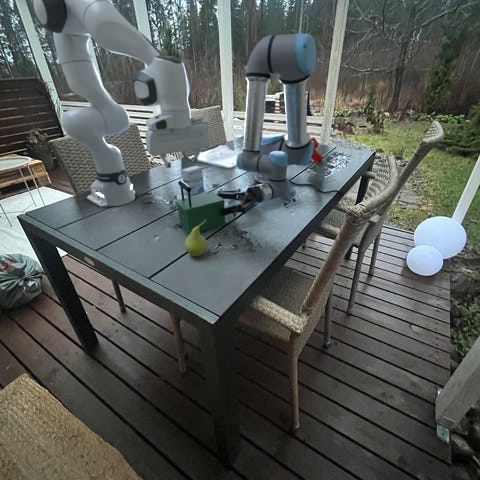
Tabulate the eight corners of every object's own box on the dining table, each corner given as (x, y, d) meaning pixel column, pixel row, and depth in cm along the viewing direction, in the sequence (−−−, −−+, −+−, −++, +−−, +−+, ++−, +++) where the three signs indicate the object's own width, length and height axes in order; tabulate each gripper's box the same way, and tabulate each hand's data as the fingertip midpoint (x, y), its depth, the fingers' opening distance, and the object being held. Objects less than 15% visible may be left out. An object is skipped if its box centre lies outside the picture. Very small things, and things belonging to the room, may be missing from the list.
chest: (189, 235, 98) (187, 212, 94) (180, 224, 105) (177, 203, 100) (225, 224, 105) (224, 202, 100) (214, 214, 112) (212, 194, 107)
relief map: (229, 168, 161) (229, 160, 158) (188, 158, 179) (187, 150, 176) (255, 158, 179) (255, 150, 177) (215, 150, 197) (215, 142, 194)
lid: (185, 213, 93) (182, 189, 89) (175, 203, 100) (172, 181, 95) (224, 202, 100) (223, 180, 96) (212, 194, 107) (211, 173, 102)
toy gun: (326, 157, 168) (314, 136, 164) (326, 159, 164) (313, 137, 160) (301, 172, 178) (289, 153, 174) (300, 174, 174) (287, 154, 170)
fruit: (184, 250, 90) (179, 218, 83) (206, 245, 92) (203, 214, 86) (188, 261, 85) (184, 228, 78) (211, 256, 87) (209, 223, 80)
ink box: (198, 188, 136) (196, 165, 129) (204, 191, 133) (202, 167, 126) (184, 193, 131) (181, 169, 124) (190, 196, 128) (187, 171, 121)
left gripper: (202, 115, 89) (205, 157, 97) (140, 121, 80) (149, 167, 87) (211, 118, 85) (214, 162, 92) (146, 124, 75) (155, 173, 83)
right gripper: (242, 176, 120) (198, 186, 111) (277, 195, 103) (229, 209, 93) (242, 192, 124) (200, 203, 115) (276, 213, 107) (229, 228, 97)
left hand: (182, 164), depth 90 cm, fingers open, 8 cm apart
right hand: (212, 206), depth 104 cm, fingers open, 12 cm apart
